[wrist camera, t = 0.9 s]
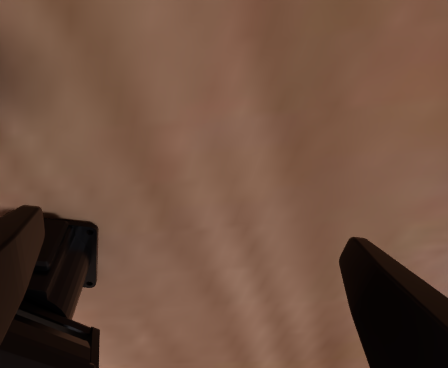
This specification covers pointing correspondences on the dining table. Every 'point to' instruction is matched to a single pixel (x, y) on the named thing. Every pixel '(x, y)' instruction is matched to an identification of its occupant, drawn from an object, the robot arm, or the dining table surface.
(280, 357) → the dining table surface
